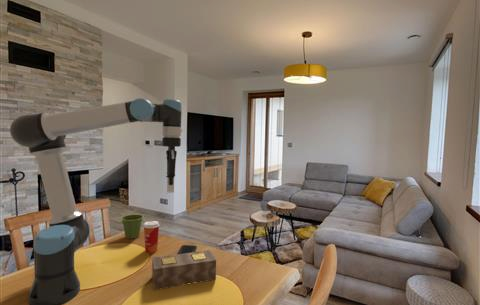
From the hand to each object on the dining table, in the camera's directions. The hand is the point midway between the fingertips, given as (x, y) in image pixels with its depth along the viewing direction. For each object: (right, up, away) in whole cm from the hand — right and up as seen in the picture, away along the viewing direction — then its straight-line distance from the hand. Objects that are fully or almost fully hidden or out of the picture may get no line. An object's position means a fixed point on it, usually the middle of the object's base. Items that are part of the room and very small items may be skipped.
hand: (170, 192), depth 115 cm
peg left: (+1, -33, -8) cm, 34 cm away
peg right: (+13, -33, -4) cm, 35 cm away
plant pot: (-31, -31, +36) cm, 57 cm away
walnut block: (+7, -34, -6) cm, 35 cm away
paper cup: (-14, -32, +19) cm, 40 cm away
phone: (+3, -33, +17) cm, 38 cm away
